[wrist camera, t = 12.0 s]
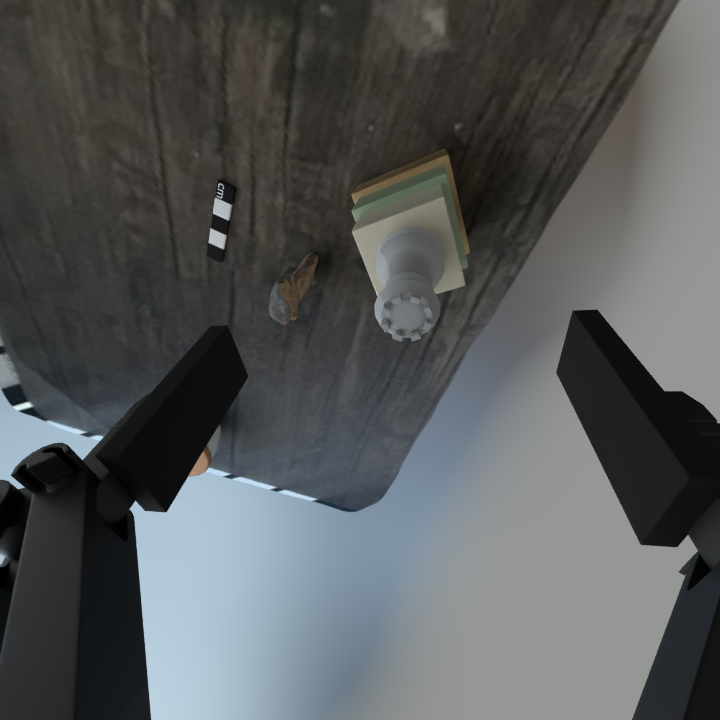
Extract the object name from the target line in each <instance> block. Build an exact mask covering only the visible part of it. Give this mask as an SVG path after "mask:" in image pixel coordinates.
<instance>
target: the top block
mask: <svg viewBox="0 0 720 720" xmlns="http://www.w3.org/2000/svg"><path fill="white" fill-rule="evenodd" d="M404 227H419V228H422V229H424V230H427V231H430V232H431V233H432V234H433V235H434V236H435V237H436V238H437V239H438V240H439V241H440V242H441V245H442V248H443V250H444V253H445V262H444V273H443V275H442V277H441V279H440V281H439V283H438V285H437V286H436V287H435V288H434V292H435V293H436V294H438V293H442V292H445V291H449V290H452V289H455V288H459V287H462V286H465V280H464V276H463V272H462V268H461V264H460V260H459V256H458V251H457V247H456V243H455V239H454V235H453V231H452V227H451V222H450V218H449V214H448V210H447V206H446V202H445V198H444V194H443V189H442V185H441V184H438V185H435V186H433V187H430V188H428V189H425V190H423V191H420V192H418V193H415V194H412V195H410V196H407V197H405V198H402V199H400V200H397V201H395V202H392V203H389V204H387V205H384V206H382V207H379V208H377V209H374V210H372V211H369V212H366V213H364V214H361V215H360V217H359V219H358V221H357V222H356V224H355V226H354V228H353V230H352V233H353V236H354V238H355V241H356V243H357V246H358V248H359V251H360V253H361V256H362V258H363V261H364V263H365V266H366V268H367V271H368V273H369V276H370V278H371V281H372V283H373V286H374V288H375V291H376V294H377V296H378V294H379V293H380V292H381V291H382V290H383V286H382V284H381V282H380V280H379V278H378V277H377V274H376V255H377V252H378V249H379V247H380V244H381V243H382V242H383V241H384V240H385V238H386V237H387V236H388V235H389V234H390V233H392V232H394V231H396V230H398V229H401V228H404Z"/></svg>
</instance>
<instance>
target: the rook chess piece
mask: <svg viewBox="0 0 720 720" xmlns="http://www.w3.org/2000/svg"><path fill="white" fill-rule="evenodd" d="M444 262H445V253H444V250H443V248H442V245H441V242H440V241H439V240H438V239H437V238H436V237H435V236H434V235H433V234H432V233H431V232H430V231H427V230H424V229H422V228H419V227H404V228H401V229H398V230H396V231H394V232H392V233H390V234H389V235H388V236H387V237H386V238H385V240H384V241H383V242H382V243H381V244H380V247H379V249H378V252H377V255H376V274H377V277H378V278H379V280H380V282H381V284H382V286H383V290H382V291H381V292H380V293H379V294H378V297H377V300H376V302H375V305H374V306H375V317H376V318H377V320H378V322H379V324H380V326H381V327H382V328H383V330H384V331H385V333H386V332H389V333H390V334H393V339H395V340H398V341H401V342H402V338H403V337H411V341H415V340H418V339H421V335H422V334H424V333H426V332H429V330H430V329H431V328H432V327H433V326H434V325H435V323H436V321H437V319H438V318H439V316H440V302H439V300H438V298H437V295H436V293H435V292H434V288H435V287H436V286H437V285H438V283H439V281H440V279H441V277H442V275H443V273H444Z"/></svg>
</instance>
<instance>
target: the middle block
mask: <svg viewBox="0 0 720 720" xmlns="http://www.w3.org/2000/svg"><path fill="white" fill-rule="evenodd" d="M438 184H441V185H442V189H443V194H444V198H445V202H446V206H447V210H448V214H449V218H450V222H451V227H452V231H453V235H454V239H455V243H456V247H457V251H458V256H459V260H460V264H461V268H462V269H465V268H468V264H467V259H466V255H465V251H464V246H463V242H462V238H461V233H460V229H459V225H458V220H457V216H456V212H455V207H454V203H453V199H452V194H451V190H450V186H449V181H448V177H447V173H446V170H445V167H444V165H443V164H442V165H439V166H437V167H434V168H432V169H429V170H427V171H424V172H422V173H420V174H417V175H415V176H412V177H410V178H407V179H405V180H402V181H400V182H398V183H395V184H393V185H390V186H388V187H385V188H383V189H380V190H378V191H375V192H373V193H371V194H368V195H366V196H363V197H361V198H359V199H358V201H357V203H356V204H355V206H354V207H353V209H352V214H353V216H354V219H355V221H356V222H357V221H358V219H359V217H360V215H361V214H364V213H366V212H369V211H372V210H374V209H377V208H379V207H382V206H384V205H387V204H389V203H392V202H395V201H397V200H400V199H402V198H405V197H407V196H410V195H412V194H415V193H418V192H420V191H423V190H425V189H428V188H430V187H433V186H435V185H438Z"/></svg>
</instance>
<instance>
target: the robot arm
mask: <svg viewBox="0 0 720 720" xmlns="http://www.w3.org/2000/svg"><path fill="white" fill-rule="evenodd" d="M556 373H557V375H558V377H559V379H560V381H561V383H562V385H563V387H564V389H565V391H566V393H567V395H568V397H569V399H570V401H571V403H572V405H573V407H574V409H575V412H576V414H577V416H578V418H579V420H580V422H581V424H582V426H583V428H584V430H585V432H586V434H587V436H588V438H589V440H590V442H591V444H592V446H593V448H594V450H595V452H596V454H597V456H598V458H599V460H600V462H601V464H602V466H603V469H604V471H605V473H606V475H607V477H608V479H609V481H610V483H611V485H612V487H613V489H614V491H615V493H616V495H617V497H618V499H619V501H620V503H621V505H622V507H623V509H624V511H625V514H626V515H627V518H628V519H629V522H630V524H631V526H632V528H633V530H634V532H635V534H636V536H637V538H638V540H639V542H640V544H641V545H652V546H666V547H667V546H668V547H678V546H679V544H680V543H681V542H682V541H683V540H684V539H685V537H686V536H687V535H689V537H690V538H691V540H692V541H693V543H694V545H695V546H696V548H697V550H698V552H697V553H696V554H695V555H694V556H693V557H692V558H691V559H690V560H689V561H688V562H687V563H686V564H685V565H684V566H683V567H682V569H681V570H680V571H679V572H680V573H681V574H683V575H685V574H686V576H685V579H684V581H683V584H682V587H681V589H680V592H679V595H678V598H677V600H676V603H675V606H674V608H673V611H672V614H671V617H670V619H669V622H668V624H667V627H666V630H665V633H664V635H663V638H662V641H661V643H660V646H659V649H658V651H657V654H656V657H655V659H654V662H653V665H652V667H651V670H650V673H649V676H648V678H647V681H646V684H645V686H644V689H643V692H642V694H641V697H640V700H639V702H638V705H637V708H636V711H635V714H634V716H633V719H632V720H720V423H719V424H718V423H717V420H716V419H715V418H714V416H713V415H712V414H711V413H710V412H709V411H708V410H707V409H706V408H705V407H704V405H702V404H701V403H699V402H698V401H696V400H695V399H693V398H691V397H690V396H688V395H687V394H685V393H684V392H682V391H679V392H678V391H672V392H670V391H664V390H663V389H662V388H661V387H660V385H659V384H658V383H657V382H656V381H655V379H654V378H653V377H652V376H651V375H650V373H649V372H648V371H647V370H646V368H645V367H644V366H643V365H642V364H641V362H640V361H639V360H638V359H637V358H636V356H635V355H634V354H633V353H632V352H631V350H630V349H629V348H628V347H627V345H626V344H625V343H624V342H623V340H622V339H621V338H620V337H619V336H618V334H617V333H616V332H615V331H614V330H613V328H612V327H611V326H610V325H609V323H608V322H607V321H606V320H605V319H604V317H603V316H602V315H601V314H600V312H599V311H598V310H580V311H579V310H578V311H573V312H572V316H571V319H570V323H569V327H568V331H567V334H566V338H565V342H564V346H563V349H562V353H561V357H560V361H559V364H558V368H557V372H556ZM247 378H248V374H247V372H246V369H245V367H244V364H243V362H242V360H241V357H240V355H239V352H238V350H237V347H236V345H235V343H234V340H233V338H232V335H231V333H230V330H229V328H228V326H227V325H226V326H210V328H209V329H208V330H207V331H206V332H205V333H204V334H203V335H202V337H201V338H200V339H199V340H198V341H197V342H196V343H195V344H194V345H193V347H192V348H191V349H190V350H189V351H188V352H187V353H186V354H185V356H184V357H183V358H182V359H181V360H180V361H179V362H178V363H177V364H176V366H175V367H174V368H173V369H172V370H171V371H170V372H169V373H168V375H167V376H166V377H165V378H164V379H163V380H162V381H161V382H160V383H159V385H158V386H157V387H156V388H155V389H154V390H153V391H152V392H151V394H148V395H146V396H145V397H143V398H142V399H141V400H139V401H138V402H136V403H135V404H134V405H133V406H132V407H131V408H130V409H129V410H128V411H127V412H126V413H125V415H124V418H121V419H120V420H119V421H118V422H117V423H116V424H115V427H113V428H112V429H111V430H110V431H109V432H108V433H107V434H106V435H105V436H104V437H103V439H102V440H101V441H100V442H99V443H98V444H97V445H96V446H95V447H94V448H93V449H92V451H91V452H90V453H89V454H88V455H87V456H86V457H85V458H84V459H83V460H81V458H80V457H78V455H77V454H76V453H75V452H74V451H73V450H72V449H71V448H70V447H69V446H68V445H66V444H64V443H54V444H51V445H48V446H45V447H42V448H41V449H39V450H37V451H35V452H33V453H31V454H30V455H29V456H27V457H26V458H25V459H23V460H22V461H21V462H20V463H19V464H18V465H17V466H16V467H15V469H14V471H13V472H12V474H11V476H12V477H14V478H15V479H16V480H17V481H18V482H19V483H21V484H22V485H23V486H24V487H25V488H22V489H17V488H16V487H15V486H13V485H12V484H11V483H10V482H8V481H5V480H0V554H1V555H3V556H5V559H4V561H3V563H2V564H1V565H0V720H151V713H150V702H149V691H148V678H147V666H146V654H145V642H144V630H143V618H142V606H141V594H140V582H139V571H138V559H137V548H136V535H135V523H134V516H133V513H132V512H131V511H130V510H129V509H130V507H131V506H132V505H133V503H134V502H135V500H136V501H137V502H138V504H139V505H140V506H141V507H142V508H143V509H144V510H145V511H155V512H167V510H168V509H169V507H170V505H171V504H172V502H173V500H174V499H175V497H176V495H177V493H178V492H179V490H180V489H181V487H182V485H183V484H184V482H185V481H186V479H187V477H188V476H189V474H190V472H191V471H192V469H193V467H194V466H195V464H196V462H197V461H198V459H199V457H200V456H201V454H202V452H203V451H204V449H205V447H206V446H207V444H208V443H209V441H210V439H211V438H212V436H213V434H214V433H215V431H216V429H217V428H218V426H219V424H220V423H221V421H222V419H223V418H224V416H225V414H226V413H227V411H228V409H229V408H230V406H231V404H232V403H233V401H234V399H235V398H236V396H237V394H238V393H239V391H240V389H241V388H242V386H243V385H244V383H245V381H246V380H247Z"/></svg>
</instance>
